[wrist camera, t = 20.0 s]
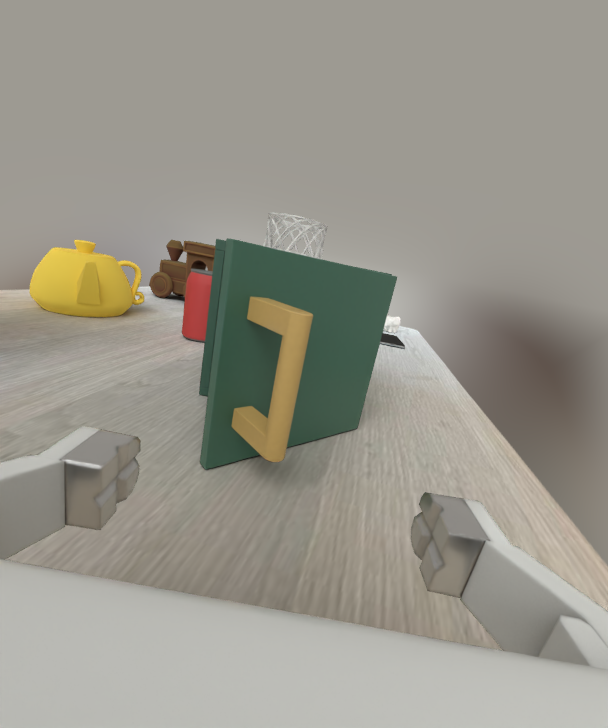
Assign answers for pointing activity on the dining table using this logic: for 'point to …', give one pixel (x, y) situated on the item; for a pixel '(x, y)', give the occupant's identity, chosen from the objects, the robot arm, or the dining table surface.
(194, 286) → the beer can
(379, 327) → the door
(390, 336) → the smartphone
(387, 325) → the elephant figurine
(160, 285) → the wooden toy train
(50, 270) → the teapot
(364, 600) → the dining table surface
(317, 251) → the vase
